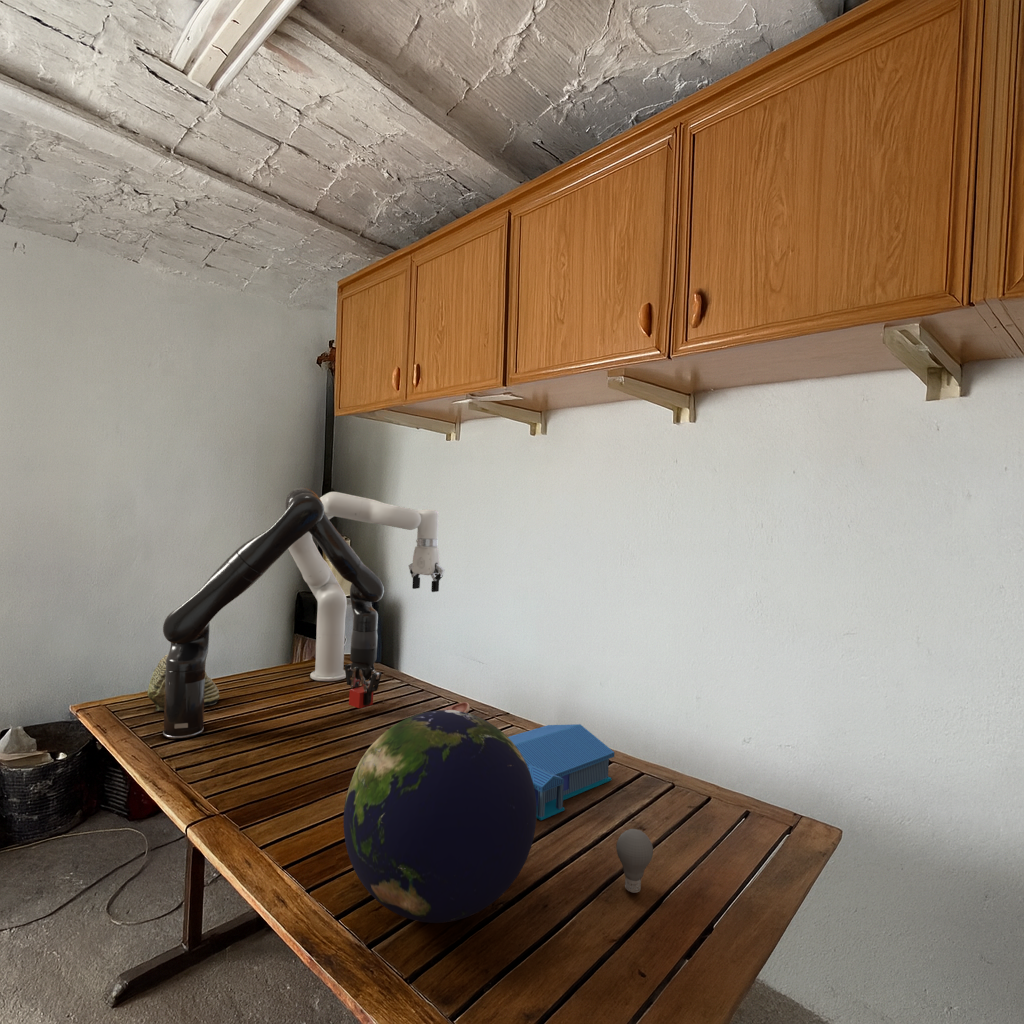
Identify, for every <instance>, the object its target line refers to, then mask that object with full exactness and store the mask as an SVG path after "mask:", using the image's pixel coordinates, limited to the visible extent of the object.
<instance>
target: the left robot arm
mask: <svg viewBox="0 0 1024 1024" xmlns="http://www.w3.org/2000/svg"><path fill="white" fill-rule="evenodd" d="M284 510H285V511H284V512H283V514H282V515H281V516H280V517H278V519H277V520H276V521H275V523H274V524H272V525H271V526H270V527H269V528H268V529H266V530H265V531H263V532H261V533H260V534H258V535H256V536H254V537H251V538H250V539H249V540H247V541H246V542H244V543H243V544H241V545H240V546H239V547H238V548H237V549H236V550H234V551H233V552H232V553H231V555H229V557H227V558H226V559H225V561H224V562H223V563H221V565H220V566H219V567H218V568H217V569H216V570H215V571H214V572H213V574H211V576H210V577H209V578H208V580H207V581H205V582H204V584H203V585H202V587H200V588H199V590H197V591H196V592H195V593H194V594H193V595H192V596H191V597H189V598H188V599H187V600H186V601H185V602H183V603H182V604H181V605H179V606H178V607H176V608H175V609H174V610H172V611H171V612H170V613H169V614H168V615H167V616H166V618H165V620H164V622H163V625H162V633H163V636H164V638H165V639H166V640H167V641H168V642H169V643H170V648H169V651H168V654H167V655H168V656H167V659H166V674H165V705H164V710H163V731H162V737H164V738H166V739H169V740H185V739H190V738H191V739H192V738H194V737H197V736H199V735H202V734H203V732H204V730H205V729H204V722H205V721H204V718H205V706H204V693H205V672H206V664H207V663H206V662H207V656H208V653H209V644H210V629H211V627H210V622H211V621H212V620H213V619H214V617H216V615H218V613H219V612H220V611H221V610H222V609H224V607H226V606H228V604H231V602H233V601H234V600H236V599H237V598H238V597H239V596H241V595H242V594H243V593H245V592H246V591H247V590H248V589H250V587H252V586H253V585H254V584H255V583H256V582H257V581H258V580H259V579H260V578H261V577H262V576H263V575H264V574H265V573H266V572H267V571H268V570H269V569H270V568H271V567H272V566H273V565H274V563H276V562H277V561H278V560H279V559H280V558H281V557H282V556H283V555H284V554H285V553H286V552H287V550H289V549H288V548H289V547H290V546H291V545H292V544H294V543H295V542H296V541H297V540H298V539H300V538H301V537H302V536H303V535H305V534H306V533H307V532H308V531H309V532H310V534H311V535H312V538H313V540H315V542H316V543H317V544H318V546H319V547H320V549H321V550H322V552H323V554H324V555H325V557H326V558H327V559H328V561H329V562H330V564H331V565H332V567H334V569H335V570H336V571H337V573H338V574H339V575H340V576H341V577H342V578H343V579H344V580H345V581H347V582H349V583H350V587H349V597H350V598H349V599H350V605H351V610H352V615H353V617H352V632H351V637H350V652H349V653H350V654H349V656H350V657H349V660H350V662H351V663H348V664H344V670H345V673H346V678H345V681H346V685H347V686H350V689H354V688H358V687H361V686H363V688H364V698H363V705H364V706H366V707H368V706H367V705H369V706H371V705H370V703H371V695H372V692H373V693H374V692H377V691H378V689H379V686H380V681H381V677H382V672H381V671H376V669H375V662H376V661H377V659H378V658H377V656H378V639H379V638H378V637H379V636H378V624H379V623H378V621H379V614H378V611H377V610H376V609H374V607H373V606H372V605H373V604H372V603H376V602H379V601H380V600H382V598H383V596H384V593H385V587H384V584H383V582H382V580H381V578H379V576H378V575H377V574H375V572H374V571H373V570H371V569H370V567H368V566H367V565H366V564H364V562H363V561H362V560H361V558H360V557H359V556H358V554H357V553H356V552H355V550H354V549H353V548H352V546H351V545H350V544H349V543H348V541H347V540H346V539H345V538H344V537H343V535H342V534H341V533H340V532H339V531H338V529H337V528H336V527H335V525H334V524H333V523H332V522H331V519H328V517H327V516H326V514H325V512H324V505H323V503H322V501H321V500H320V497H319V495H318V494H317V493H316V492H315V491H313V490H312V489H310V488H307V487H296V488H293V489H292V490H290V491H289V492H288V493H287V495H286V497H285V500H284ZM367 687H368V688H367Z"/></svg>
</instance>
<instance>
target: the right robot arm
mask: <svg viewBox="0 0 1024 1024" xmlns="http://www.w3.org/2000/svg"><path fill="white" fill-rule="evenodd" d="M319 498H320V500H321V501H322V503H323V505H324V512H325V514H326V516H327V517H328V519H329V520H331V519H332V518H334V517H336V518H341V519H346V520H351V521H356V522H361V523H362V522H363V523H367V524H370V525H371V524H373V525H381V526H388V527H391V528H392V527H393V528H396V529H397V528H398V529H402V530H406V531H407V530H408V531H412V530H416V529H417V532H416V533H417V534H416V539H415V543H416V546H415V547H414V550H413V555H412V563H410V564H409V565H408V569H409V574H410V575H411V578H412V589H413V590H415V589H416V590H417V589H420V588H421V577H420V576H421V575H423V576H430V577H431V579H432V580H431V589H430V591H431V593H437V592H439V591H440V581H441V580H442V578H443V577H444V573H445V571H446V569H445V568H444V567H443V566H442V565H440V564H441V563H440V561H441V560H440V550H439V547H438V546H439V545H438V544H439V523H440V522H439V521H440V514H439V513H440V512H439V511H438V510H436V509H415V508H411V507H405V506H400V505H395V504H391V503H386V502H382V501H379V500H377V499H372V498H368V497H364V496H363V497H362V496H358V495H353V494H348V493H344V492H339V491H329V492H327V493H324V494H323V495H322V496H321V497H319ZM287 550H288V552H289V553H290V555H291V557H292V559H293V561H294V563H295V565H296V566H297V568H298V570H299V571H300V574H301V577H302V579H303V580H304V582H305V583H306V584H307V586H308V587H309V589H310V591H311V592H312V595H313V596H314V597H315V599H316V601H317V611H316V612H317V614H316V636H315V638H316V640H315V664H314V671H312V672H311V673H310V675H309V676H310V677H309V678H310V679H312V680H314V681H317V682H335V681H343V680H345V679H346V673H345V663H344V662H345V642H346V641H345V639H346V616H347V607H348V606H347V605H348V600H347V594H346V593H345V590H344V589H343V587H342V585H340V583H339V581H338V579H337V577H336V575H335V574H334V572H333V571H332V569H331V567H330V565H329V563H328V562H327V561H326V560H325V559H324V557H323V556H322V554H321V553H320V551H319V549H318V547H317V545H316V544H315V542H314V538H313V536H312V535H311V534H310V532H309V531H308V532H307V533H306V534H305V535H303V536H302V537H301V538H300V539H298V540H297V541H296V542H295V543H294V544H292V545H291V546H290V547H289V548H288V549H287Z"/></svg>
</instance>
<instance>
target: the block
mask: <svg viewBox="0 0 1024 1024" xmlns="http://www.w3.org/2000/svg"><path fill="white" fill-rule="evenodd" d="M367 688H369V686H367ZM348 694H349V696H348V705H349V706H351V707H354V708H357V709H362V708H366V707H369V706H372V705H374V692H372V695H371V703H370V705H367V706H364V705H363V698H364V688H363V685H361V686H359V687H358V688H354V689H351V688H350V689H349V692H348Z"/></svg>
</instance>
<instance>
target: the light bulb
mask: <svg viewBox="0 0 1024 1024" xmlns="http://www.w3.org/2000/svg"><path fill="white" fill-rule="evenodd" d="M615 849H616V854H617V857H618V859H619V861H620V863H621V865H622V867H623V873H624V874H623V875H624V876H625V878H624V888H625V890H627V891H628V892H630V893H634V894H635V893H639V892H640V891H641V889H642V887H641V886H642V879H643V877H644V875H645V871H646V868H647V867H648V866H649V864H650V863H651V861H652V859H653V855H654V847H653V843H652V841H651V838H649V836H648V835H647V834H646V833H645V832H643V831H642V830H641V829H636V828H629V829H627V830H625V831H623V832H622V833H621V834H620V835H619V837H618V839H617V841H616V847H615Z"/></svg>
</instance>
